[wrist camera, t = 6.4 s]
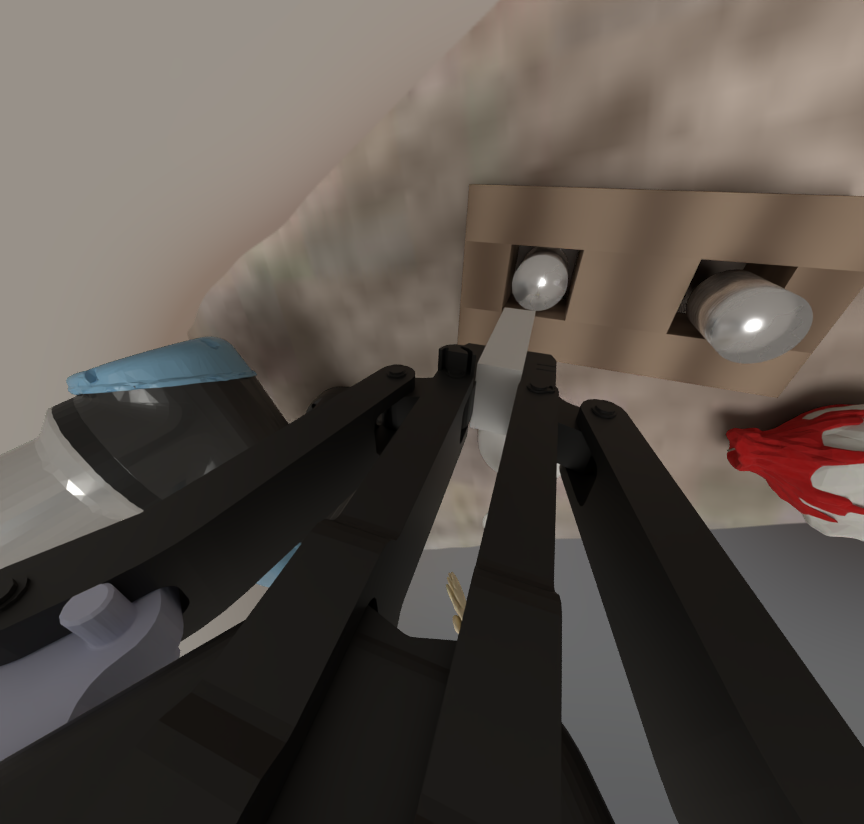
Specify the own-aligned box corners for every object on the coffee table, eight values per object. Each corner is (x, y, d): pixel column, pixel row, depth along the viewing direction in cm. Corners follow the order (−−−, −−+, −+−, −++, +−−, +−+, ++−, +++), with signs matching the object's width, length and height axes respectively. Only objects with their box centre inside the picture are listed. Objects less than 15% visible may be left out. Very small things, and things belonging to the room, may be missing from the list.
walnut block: (472, 323, 34) (457, 345, 29) (486, 184, 27) (469, 184, 22) (743, 362, 28) (777, 397, 23) (851, 195, 21) (931, 199, 16)
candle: (894, 499, 29) (692, 461, 36) (1001, 393, 23) (733, 370, 30) (969, 592, 23) (705, 525, 29) (1144, 479, 17) (761, 425, 23)
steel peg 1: (516, 290, 30) (508, 307, 26) (525, 242, 28) (516, 252, 24) (561, 295, 29) (559, 314, 25) (573, 246, 27) (574, 257, 23)
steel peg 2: (675, 325, 23) (698, 357, 19) (703, 266, 21) (737, 287, 17) (741, 334, 22) (781, 369, 18) (778, 273, 20) (834, 296, 16)
